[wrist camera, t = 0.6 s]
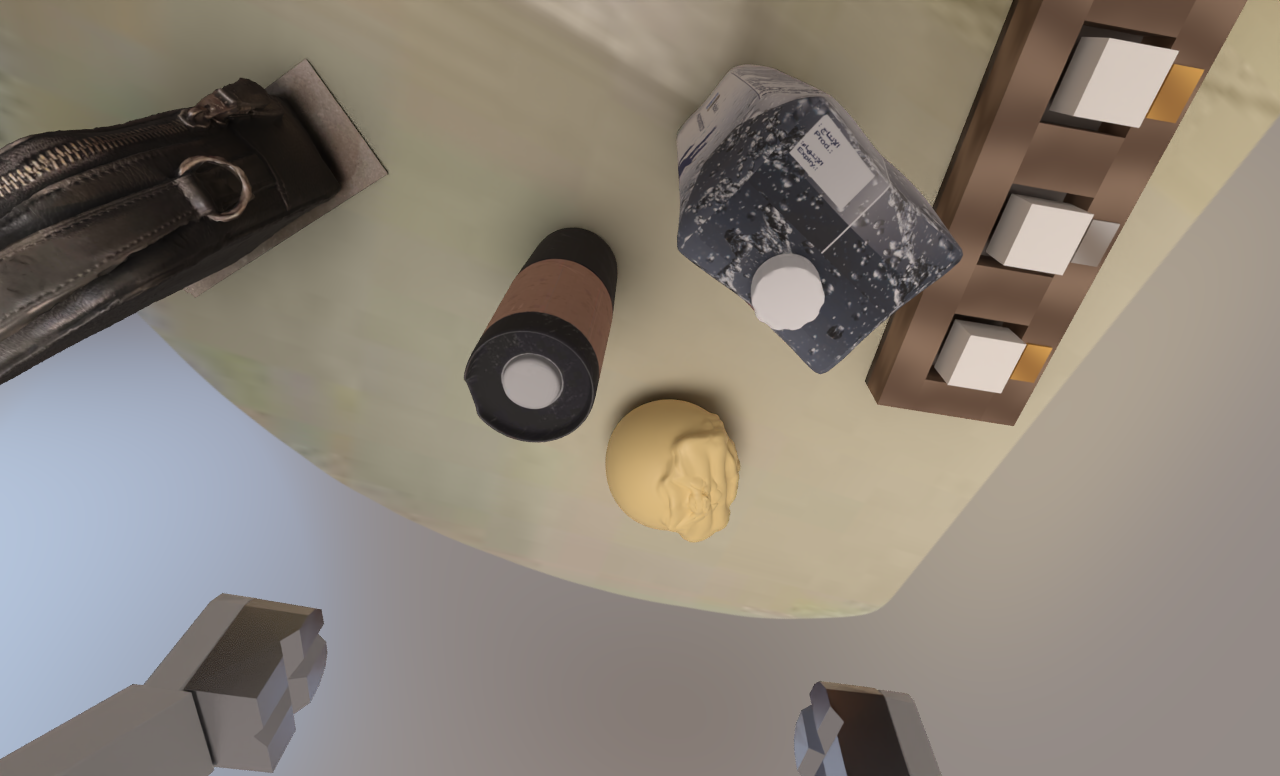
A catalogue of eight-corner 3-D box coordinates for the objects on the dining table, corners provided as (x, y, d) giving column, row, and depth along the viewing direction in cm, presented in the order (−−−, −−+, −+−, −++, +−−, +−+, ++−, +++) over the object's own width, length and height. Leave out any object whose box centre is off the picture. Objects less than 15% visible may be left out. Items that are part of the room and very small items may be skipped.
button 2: (1081, 36, 41) (1109, 37, 38) (1147, 49, 41) (1179, 50, 38) (1048, 110, 43) (1073, 115, 40) (1111, 121, 43) (1139, 128, 41)
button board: (1029, -41, 41) (1064, -47, 38) (1204, -8, 42) (1256, -10, 38) (865, 381, 57) (878, 406, 54) (993, 401, 58) (1015, 428, 54)
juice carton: (744, 40, 44) (827, 64, 21) (843, 146, 47) (1010, 269, 24) (658, 141, 48) (648, 258, 25) (755, 233, 51) (828, 414, 28)
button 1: (955, 319, 51) (970, 335, 48) (1008, 328, 51) (1026, 344, 48) (934, 366, 53) (947, 384, 50) (984, 375, 53) (1001, 393, 51)
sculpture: (735, 478, 64) (747, 558, 54) (616, 484, 65) (607, 563, 55) (733, 379, 58) (746, 448, 49) (603, 387, 59) (590, 456, 50)
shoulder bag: (193, 298, 56) (-170, 511, 32) (106, 207, 52) (-381, 369, 28) (389, 172, 50) (124, 317, 26) (307, 58, 46) (-96, 101, 22)
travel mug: (638, 257, 52) (623, 375, 35) (590, 327, 56) (554, 465, 38) (558, 205, 51) (500, 301, 33) (513, 280, 54) (439, 403, 37)
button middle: (1011, 193, 46) (1032, 203, 43) (1070, 203, 46) (1094, 214, 43) (985, 251, 48) (1003, 265, 45) (1041, 261, 48) (1062, 275, 46)
